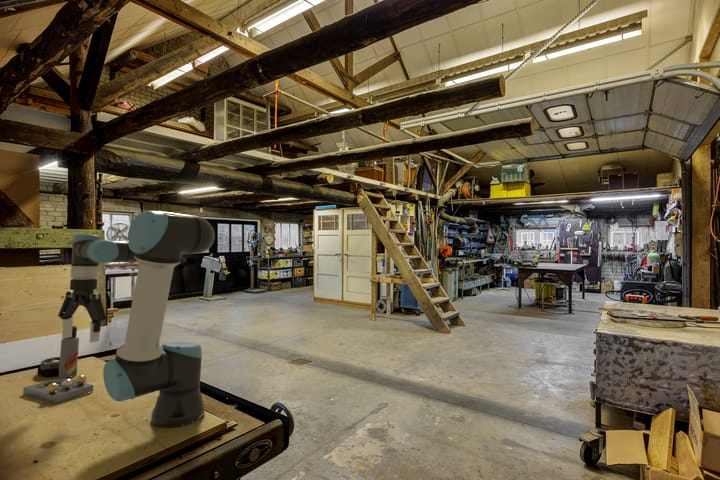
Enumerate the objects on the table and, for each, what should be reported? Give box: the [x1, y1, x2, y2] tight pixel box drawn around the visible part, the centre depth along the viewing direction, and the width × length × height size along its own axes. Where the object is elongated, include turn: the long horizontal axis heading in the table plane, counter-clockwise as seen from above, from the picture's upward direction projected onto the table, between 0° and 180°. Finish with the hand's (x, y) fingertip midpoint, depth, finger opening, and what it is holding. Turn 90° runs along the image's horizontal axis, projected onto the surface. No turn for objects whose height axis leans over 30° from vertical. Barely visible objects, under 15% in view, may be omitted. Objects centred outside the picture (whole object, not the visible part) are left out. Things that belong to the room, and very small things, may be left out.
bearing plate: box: [22, 377, 94, 405], centre depth 128 cm, size 18×12×2 cm, turn 69°
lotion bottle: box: [58, 325, 80, 378], centre depth 146 cm, size 6×6×20 cm
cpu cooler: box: [37, 356, 60, 379], centre depth 148 cm, size 10×6×10 cm
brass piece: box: [75, 374, 88, 384], centre depth 131 cm, size 3×3×3 cm
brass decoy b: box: [46, 383, 59, 393], centre depth 123 cm, size 3×3×3 cm
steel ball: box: [62, 378, 73, 389], centre depth 127 cm, size 3×3×3 cm
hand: (80, 339), depth 124 cm, fingers open, 13 cm apart
